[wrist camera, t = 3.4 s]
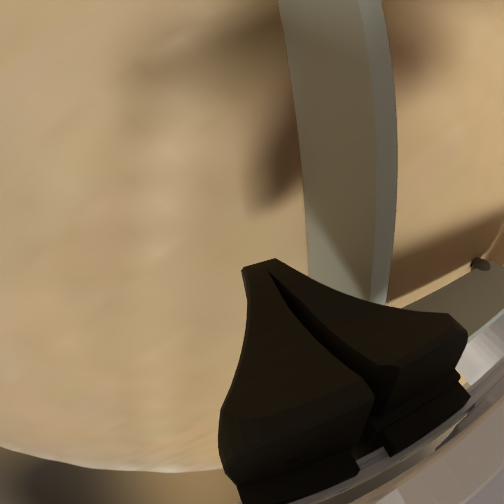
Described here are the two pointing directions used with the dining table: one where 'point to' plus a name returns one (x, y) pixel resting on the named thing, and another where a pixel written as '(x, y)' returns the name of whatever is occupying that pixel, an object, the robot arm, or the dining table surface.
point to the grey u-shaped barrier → (360, 159)
